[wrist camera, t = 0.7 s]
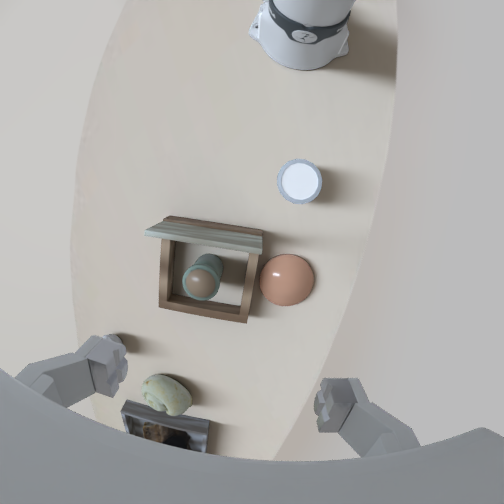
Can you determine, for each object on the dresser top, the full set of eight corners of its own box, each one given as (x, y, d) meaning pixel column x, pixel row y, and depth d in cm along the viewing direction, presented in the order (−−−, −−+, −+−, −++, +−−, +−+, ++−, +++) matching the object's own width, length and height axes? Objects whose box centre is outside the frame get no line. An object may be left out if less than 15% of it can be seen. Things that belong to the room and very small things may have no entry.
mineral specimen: (181, 423, 58) (188, 475, 53) (192, 410, 73) (197, 456, 67) (134, 418, 58) (142, 469, 52) (152, 407, 72) (158, 452, 67)
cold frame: (169, 215, 48) (145, 227, 37) (262, 230, 48) (263, 246, 37) (164, 299, 53) (143, 328, 41) (247, 314, 53) (244, 348, 42)
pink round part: (264, 249, 49) (264, 251, 48) (318, 258, 49) (319, 260, 48) (255, 299, 52) (255, 301, 51) (306, 306, 52) (306, 309, 51)
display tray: (126, 399, 62) (120, 411, 57) (209, 420, 62) (206, 433, 57) (136, 441, 68) (132, 452, 64) (205, 458, 69) (203, 470, 64)
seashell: (139, 412, 54) (135, 390, 50) (145, 388, 61) (143, 365, 57) (189, 422, 55) (192, 402, 51) (193, 398, 62) (196, 376, 58)
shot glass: (320, 188, 46) (330, 190, 39) (287, 207, 47) (291, 212, 40) (301, 154, 44) (308, 150, 38) (267, 173, 46) (268, 172, 39)
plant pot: (195, 249, 50) (183, 262, 42) (227, 254, 50) (221, 269, 42) (192, 279, 51) (181, 297, 43) (223, 284, 51) (216, 303, 43)
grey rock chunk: (134, 344, 56) (122, 362, 49) (116, 352, 57) (104, 369, 51) (119, 324, 55) (105, 340, 48) (101, 333, 56) (87, 348, 49)
